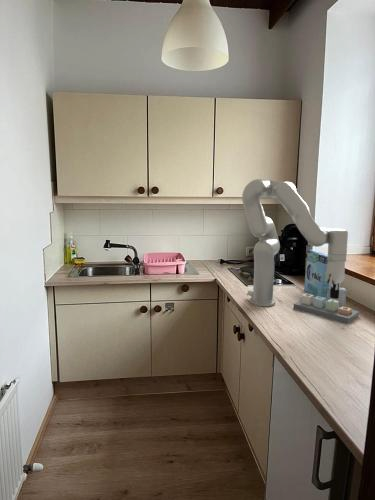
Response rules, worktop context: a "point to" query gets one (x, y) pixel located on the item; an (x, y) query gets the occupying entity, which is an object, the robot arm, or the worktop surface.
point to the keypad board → (326, 312)
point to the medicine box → (341, 296)
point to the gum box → (316, 274)
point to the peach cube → (345, 310)
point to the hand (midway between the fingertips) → (334, 297)
